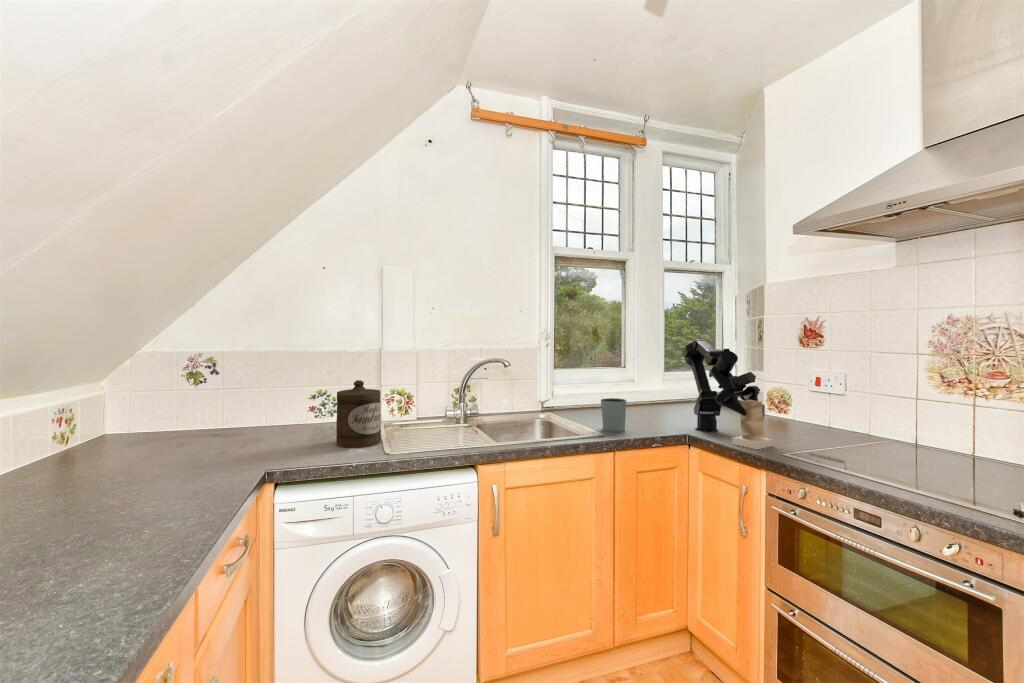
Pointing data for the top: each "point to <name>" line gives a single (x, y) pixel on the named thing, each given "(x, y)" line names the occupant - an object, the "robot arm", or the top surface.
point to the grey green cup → (613, 414)
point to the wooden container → (358, 417)
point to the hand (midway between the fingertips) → (753, 413)
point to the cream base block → (752, 442)
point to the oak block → (752, 420)
